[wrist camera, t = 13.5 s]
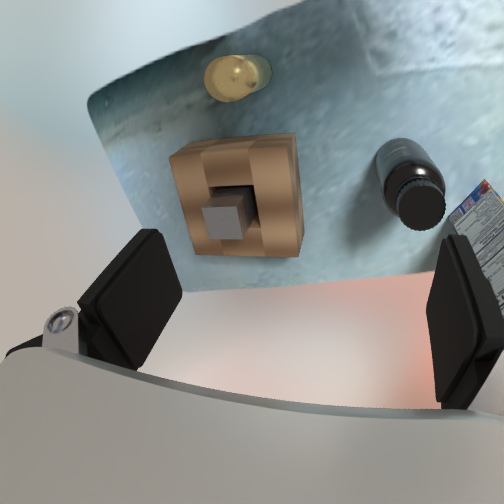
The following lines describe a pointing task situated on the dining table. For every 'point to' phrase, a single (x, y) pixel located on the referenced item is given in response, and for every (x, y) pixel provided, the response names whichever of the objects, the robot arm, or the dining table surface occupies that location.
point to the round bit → (236, 76)
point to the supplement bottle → (411, 184)
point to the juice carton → (484, 233)
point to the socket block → (244, 173)
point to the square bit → (230, 211)
